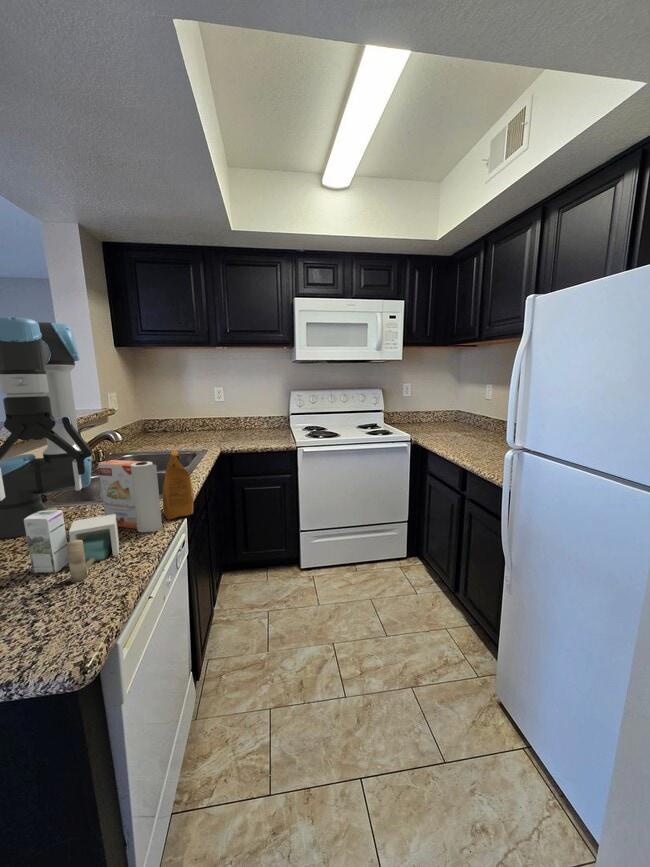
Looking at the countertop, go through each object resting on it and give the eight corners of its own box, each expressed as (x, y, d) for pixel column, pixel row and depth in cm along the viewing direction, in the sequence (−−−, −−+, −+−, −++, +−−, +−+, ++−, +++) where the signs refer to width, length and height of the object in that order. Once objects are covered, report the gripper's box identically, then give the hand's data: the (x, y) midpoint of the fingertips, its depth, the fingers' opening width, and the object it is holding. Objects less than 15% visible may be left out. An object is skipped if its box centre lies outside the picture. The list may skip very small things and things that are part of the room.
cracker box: (105, 526, 116) (96, 463, 112) (120, 519, 121) (112, 459, 118) (140, 530, 112) (132, 465, 108) (154, 522, 117) (147, 460, 114)
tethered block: (90, 552, 98) (86, 521, 97) (110, 550, 100) (106, 519, 98) (64, 583, 84) (59, 547, 82) (88, 580, 85) (83, 544, 84)
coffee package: (193, 505, 134) (188, 447, 130) (195, 516, 122) (190, 453, 119) (164, 509, 130) (158, 450, 126) (164, 522, 118) (157, 457, 115)
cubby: (77, 551, 99) (73, 520, 98) (119, 543, 104) (115, 513, 102) (73, 564, 92) (68, 531, 91) (118, 555, 97) (114, 523, 95)
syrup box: (71, 561, 94) (63, 508, 92) (55, 573, 88) (46, 517, 86) (49, 562, 94) (40, 509, 91) (31, 574, 88) (22, 518, 86)
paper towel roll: (135, 528, 113) (128, 463, 110) (155, 523, 117) (149, 459, 114) (141, 536, 108) (133, 467, 105) (162, 530, 112) (155, 463, 108)
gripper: (-66, 399, 65) (-45, 510, 69) (95, 393, 76) (106, 489, 80) (-47, 397, 72) (-28, 498, 75) (99, 392, 83) (109, 481, 86)
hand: (41, 494), depth 78 cm, fingers open, 13 cm apart
